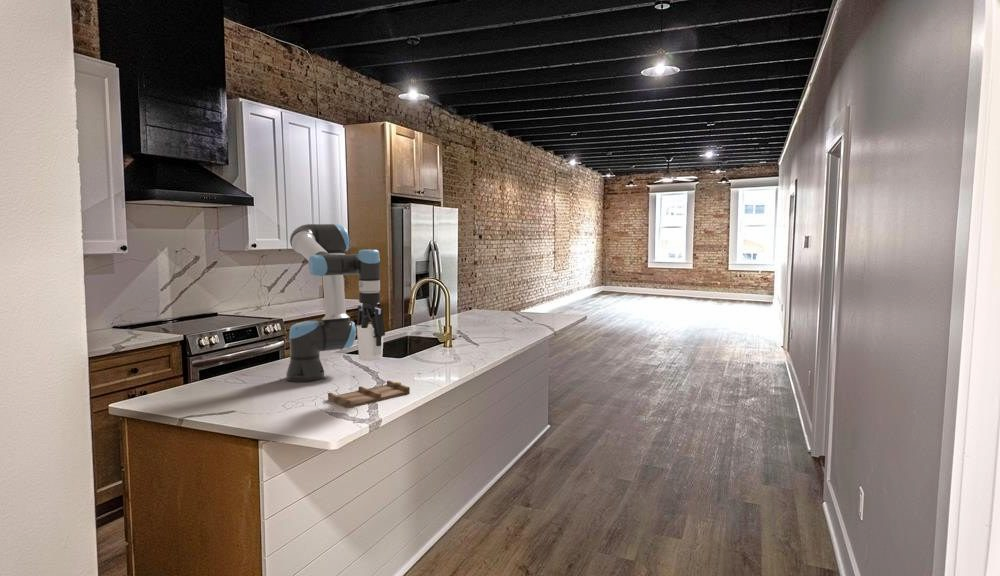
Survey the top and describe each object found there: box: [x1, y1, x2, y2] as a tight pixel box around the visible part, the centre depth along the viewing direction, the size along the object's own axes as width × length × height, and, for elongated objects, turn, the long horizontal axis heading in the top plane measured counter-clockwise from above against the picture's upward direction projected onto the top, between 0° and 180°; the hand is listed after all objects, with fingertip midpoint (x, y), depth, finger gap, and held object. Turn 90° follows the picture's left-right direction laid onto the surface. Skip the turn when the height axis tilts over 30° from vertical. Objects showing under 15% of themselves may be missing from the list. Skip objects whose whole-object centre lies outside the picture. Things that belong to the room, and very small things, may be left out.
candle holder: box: [355, 323, 384, 362], centre depth 209 cm, size 10×10×12 cm
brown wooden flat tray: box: [327, 380, 411, 409], centre depth 210 cm, size 14×27×3 cm, turn 134°
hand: (370, 352), depth 209 cm, fingers closed on candle holder, 9 cm apart
